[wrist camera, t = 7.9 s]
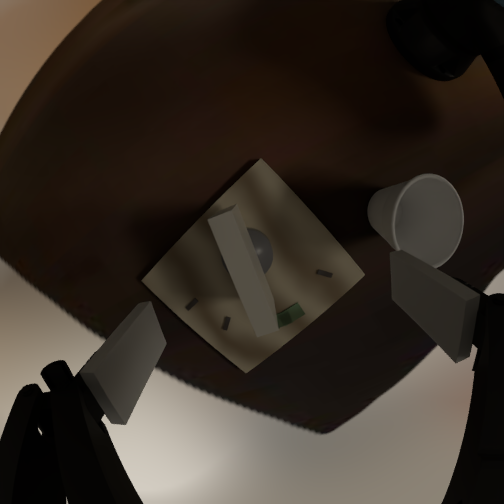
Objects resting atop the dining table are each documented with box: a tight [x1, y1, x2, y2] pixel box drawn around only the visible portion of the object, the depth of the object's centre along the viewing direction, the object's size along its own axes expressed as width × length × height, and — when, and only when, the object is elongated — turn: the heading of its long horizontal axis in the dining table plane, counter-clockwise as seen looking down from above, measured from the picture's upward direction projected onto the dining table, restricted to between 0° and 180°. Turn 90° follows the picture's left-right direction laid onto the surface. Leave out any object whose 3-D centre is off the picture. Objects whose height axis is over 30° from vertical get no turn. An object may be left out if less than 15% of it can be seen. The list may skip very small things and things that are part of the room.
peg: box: [208, 204, 279, 337], centre depth 30 cm, size 15×6×10 cm, turn 21°
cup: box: [367, 174, 464, 268], centre depth 29 cm, size 10×10×11 cm
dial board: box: [142, 159, 365, 373], centre depth 36 cm, size 22×20×2 cm
